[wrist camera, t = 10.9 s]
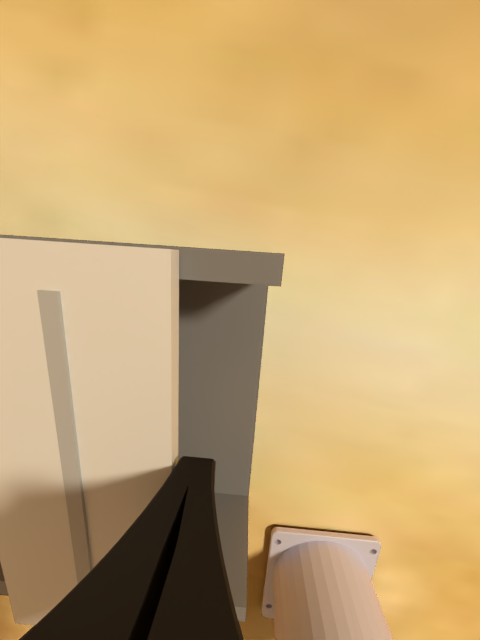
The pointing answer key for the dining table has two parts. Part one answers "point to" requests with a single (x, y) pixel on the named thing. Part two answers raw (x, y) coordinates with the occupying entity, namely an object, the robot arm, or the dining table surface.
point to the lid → (81, 406)
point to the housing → (219, 379)
